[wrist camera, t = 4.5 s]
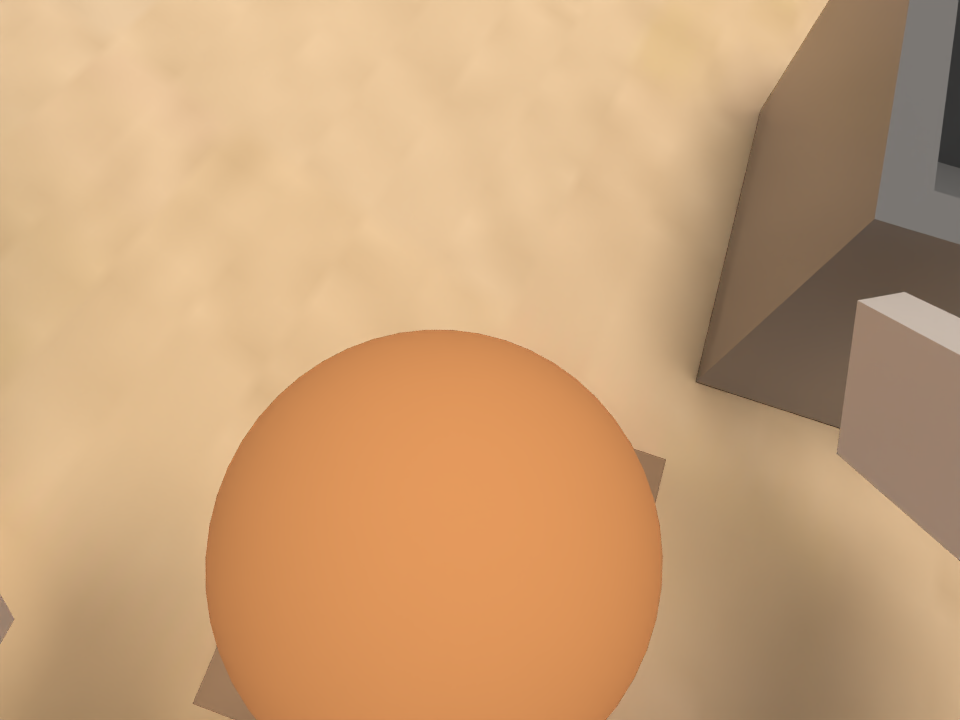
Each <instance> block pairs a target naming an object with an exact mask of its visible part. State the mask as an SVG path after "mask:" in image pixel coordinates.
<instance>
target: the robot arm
mask: <svg viewBox="0 0 960 720" xmlns="http://www.w3.org/2000/svg"><path fill="white" fill-rule="evenodd" d="M837 454H838V455H839V456H840V457H841V458H842V459H843V460H845V461H846V462H847V463H848V464H849V465H850V466H851V467H853V468H854V469H855V470H856V471H857V472H858V473H859V474H861V475H862V476H863V477H864V478H865V479H866V480H868V481H869V482H870V483H871V484H872V485H873V486H874V487H876V488H877V489H878V490H879V491H880V492H881V493H882V494H884V495H885V496H886V497H887V498H888V499H889V500H890V501H892V502H893V503H894V504H895V505H896V506H897V507H898V508H900V509H901V510H902V511H903V512H904V513H905V514H907V515H908V516H909V517H910V518H911V519H912V520H913V521H915V522H916V523H917V524H918V525H919V526H920V527H921V528H923V529H924V530H925V531H926V532H927V533H928V534H929V535H931V536H932V537H933V538H934V539H935V540H936V541H937V542H939V543H940V544H941V545H942V546H943V547H944V548H946V549H947V550H948V551H949V552H950V553H951V554H952V555H954V556H955V557H956V558H957V559H958V560H959V561H960V318H959V317H957V316H955V315H952V314H950V313H948V312H946V311H944V310H942V309H940V308H938V307H935V306H933V305H931V304H929V303H927V302H925V301H923V300H921V299H919V298H916V297H914V296H912V295H910V294H908V293H906V292H902V293H896V294H891V295H885V296H879V297H874V298H868V299H863V300H858V301H857V308H856V315H855V323H854V330H853V337H852V345H851V352H850V360H849V367H848V374H847V382H846V389H845V396H844V404H843V411H842V418H841V426H840V433H839V440H838V448H837ZM13 621H14V618H13V616H12V614H11V612H10V610H9V609H8V607H7V605H6V603H5V602H4V600H3V598H2V596H1V595H0V643H1V642H2V640H3V638H4V637H5V635H6V633H7V631H8V630H9V628H10V626H11V624H12V623H13Z"/></svg>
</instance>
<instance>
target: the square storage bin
mask: <svg viewBox="0 0 960 720" xmlns="http://www.w3.org/2000/svg"><path fill="white" fill-rule="evenodd" d="M902 292H906V293H908V294H910V295H912V296H914V297H916V298H919V299H921V300H923V301H925V302H927V303H929V304H931V305H933V306H935V307H938V308H940V309H942V310H944V311H946V312H948V313H950V314H952V315H955V316H957V317H959V318H960V0H829V1H828V3H827V4H826V6H825V8H824V9H823V11H822V12H821V14H820V16H819V17H818V19H817V20H816V22H815V24H814V25H813V27H812V28H811V30H810V32H809V33H808V35H807V36H806V38H805V40H804V41H803V43H802V44H801V46H800V48H799V49H798V51H797V52H796V54H795V56H794V57H793V59H792V60H791V62H790V64H789V65H788V67H787V68H786V70H785V72H784V73H783V75H782V76H781V78H780V80H779V81H778V83H777V85H776V86H775V88H774V89H773V91H772V93H771V94H770V96H769V97H768V99H767V101H766V102H765V104H764V105H763V107H762V109H761V111H760V116H759V120H758V124H757V128H756V132H755V137H754V141H753V145H752V149H751V153H750V158H749V162H748V166H747V170H746V174H745V178H744V183H743V187H742V191H741V195H740V199H739V204H738V208H737V212H736V216H735V220H734V224H733V229H732V233H731V237H730V241H729V245H728V250H727V254H726V258H725V262H724V266H723V271H722V275H721V279H720V283H719V287H718V291H717V296H716V300H715V304H714V308H713V312H712V317H711V321H710V325H709V329H708V333H707V337H706V342H705V346H704V350H703V354H702V358H701V363H700V367H699V371H698V375H697V379H696V382H698V383H701V384H705V385H708V386H711V387H714V388H717V389H720V390H723V391H726V392H729V393H733V394H736V395H739V396H742V397H745V398H748V399H751V400H754V401H757V402H760V403H764V404H767V405H770V406H773V407H776V408H779V409H782V410H785V411H788V412H792V413H795V414H798V415H801V416H804V417H807V418H810V419H813V420H816V421H820V422H823V423H826V424H829V425H832V426H835V427H838V428H840V426H841V418H842V411H843V404H844V396H845V389H846V382H847V374H848V367H849V360H850V352H851V345H852V337H853V330H854V323H855V315H856V308H857V301H858V300H863V299H868V298H874V297H879V296H885V295H891V294H896V293H902Z"/></svg>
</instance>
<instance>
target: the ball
mask: <svg viewBox="0 0 960 720" xmlns="http://www.w3.org/2000/svg"><path fill="white" fill-rule="evenodd" d="M662 559H663V556H662V545H661V534H660V525H659V520H658V516H657V511H656V506H655V502H654V497H653V494H652V492H651V489H650V486H649V483H648V480H647V477H646V474H645V472H644V469H643V467H642V465H641V463H640V461H639V459H638V457H637V455H636V453H635V451H634V449H633V447H632V445H631V443H630V442H629V440H628V439H627V437H626V436H625V434H624V433H623V431H622V429H621V428H620V426H619V425H618V423H617V422H616V420H615V419H614V418H613V417H612V415H611V414H610V413H609V412H608V411H607V410H606V408H605V407H604V406H603V405H602V404H601V402H600V401H599V400H598V399H597V398H596V397H595V396H594V395H593V394H592V393H591V392H590V391H589V390H588V389H586V388H585V387H584V386H583V385H582V384H581V383H580V382H579V381H578V380H577V379H576V378H574V377H573V376H571V375H570V374H569V373H567V372H566V371H564V370H563V369H561V368H560V367H559V366H557V365H556V364H554V363H553V362H551V361H549V360H547V359H545V358H544V357H542V356H540V355H538V354H536V353H534V352H533V351H531V350H528V349H526V348H523V347H521V346H518V345H516V344H513V343H511V342H508V341H506V340H502V339H498V338H494V337H490V336H486V335H482V334H478V333H470V332H463V331H455V330H422V331H413V332H404V333H397V334H393V335H389V336H385V337H381V338H376V339H372V340H370V341H367V342H364V343H362V344H359V345H356V346H354V347H351V348H348V349H346V350H344V351H342V352H340V353H338V354H336V355H334V356H332V357H330V358H329V359H327V360H325V361H323V362H321V363H320V364H318V365H317V366H315V367H314V368H312V369H311V370H309V371H308V372H306V373H305V374H304V375H302V376H301V377H299V378H298V379H297V380H296V381H295V382H293V383H292V384H291V385H290V386H289V387H288V388H287V389H285V390H284V391H283V392H282V393H281V394H280V395H278V397H277V398H276V399H275V400H274V401H273V402H272V403H271V404H270V405H269V406H268V408H267V409H266V410H265V411H264V412H263V413H262V414H261V415H260V416H259V418H258V419H257V420H256V422H255V423H254V425H253V426H252V428H251V429H250V430H249V432H248V433H247V435H246V436H245V438H244V439H243V440H242V442H241V444H240V446H239V448H238V449H237V451H236V453H235V455H234V457H233V459H232V461H231V463H230V464H229V466H228V468H227V471H226V474H225V476H224V479H223V481H222V484H221V486H220V489H219V492H218V494H217V498H216V502H215V506H214V510H213V514H212V518H211V522H210V526H209V534H208V543H207V551H206V595H207V602H208V609H209V616H210V622H211V626H212V630H213V633H214V637H215V640H216V644H217V648H218V651H219V654H220V656H221V659H222V661H223V663H224V666H225V668H226V670H227V673H228V675H229V677H230V679H231V682H232V684H233V685H234V687H235V689H236V690H237V692H238V693H239V695H240V697H241V698H242V700H243V702H244V703H245V705H246V707H247V708H248V710H249V711H250V712H251V714H252V715H253V716H254V717H255V718H256V720H606V719H607V718H608V716H609V715H610V714H611V713H612V712H613V710H614V709H615V708H616V707H617V705H618V704H619V702H620V700H621V699H622V697H623V696H624V694H625V692H626V691H627V689H628V687H629V686H630V684H631V683H632V681H633V679H634V677H635V675H636V673H637V671H638V669H639V666H640V664H641V662H642V660H643V657H644V655H645V653H646V651H647V648H648V645H649V641H650V638H651V635H652V631H653V628H654V625H655V621H656V618H657V612H658V606H659V599H660V593H661V586H662Z"/></svg>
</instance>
